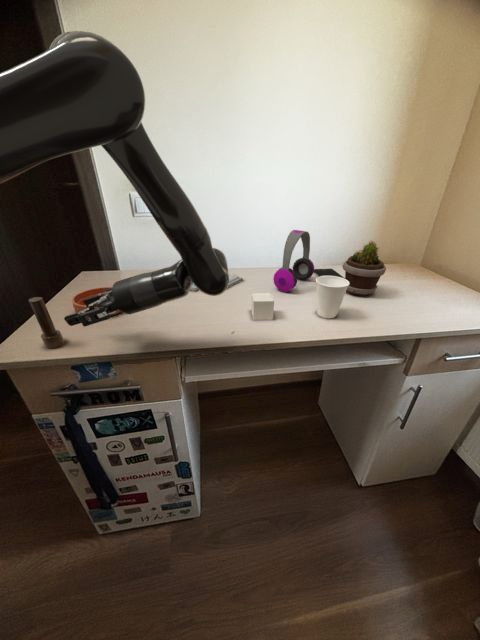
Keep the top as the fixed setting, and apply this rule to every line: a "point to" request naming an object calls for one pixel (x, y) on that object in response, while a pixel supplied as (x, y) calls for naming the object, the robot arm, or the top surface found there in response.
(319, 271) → the cell phone
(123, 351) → the top surface
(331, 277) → the cup
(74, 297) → the bowl
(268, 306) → the white cube
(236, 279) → the office telephone
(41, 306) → the muddler
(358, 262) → the flowerpot
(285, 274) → the headphones
